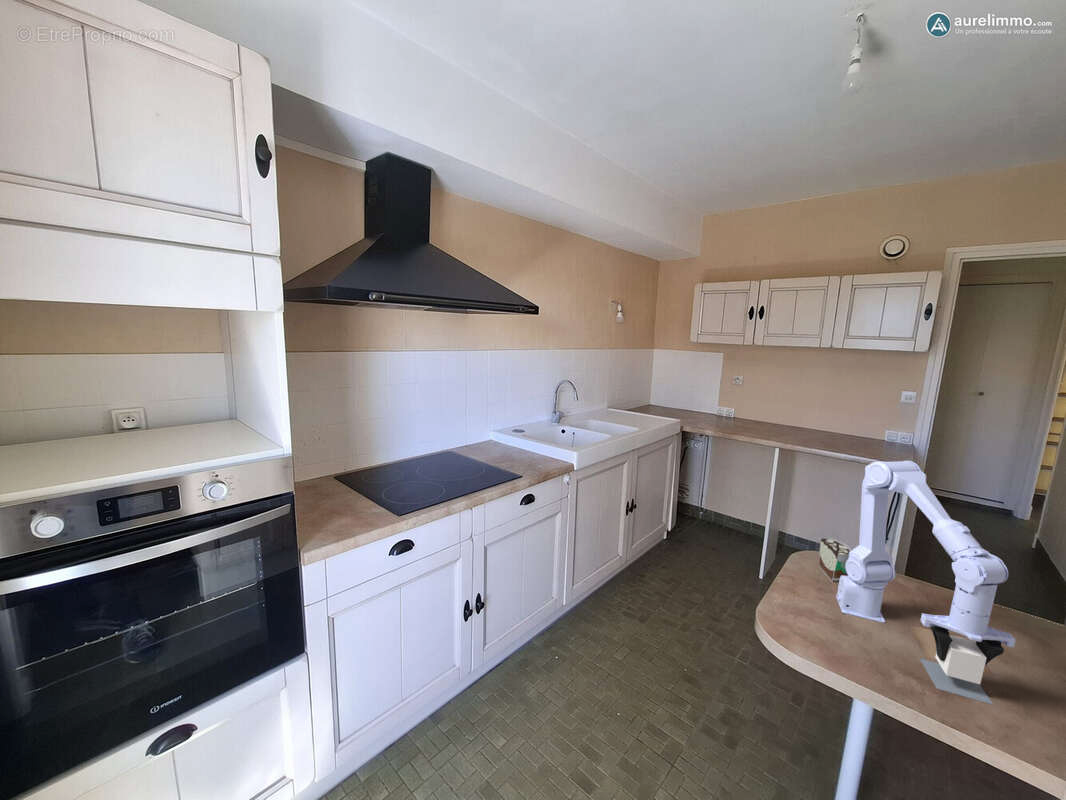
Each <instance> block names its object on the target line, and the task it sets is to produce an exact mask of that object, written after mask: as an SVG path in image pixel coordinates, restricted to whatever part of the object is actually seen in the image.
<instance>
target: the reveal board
mask: <svg viewBox="0 0 1066 800" xmlns="http://www.w3.org/2000/svg"><path fill="white" fill-rule="evenodd" d="M906 627H908V630H909V631H910V633H911V634H912V636H913V638H914V639H915V641H916V643H917V644H918V646H919V648H920V650H921V651H922V653H923V655H924V657H925V658H929V659H933V660H936V661H937V659H936V658H935V656H936V652H937V649H936V643H935V638H934V635H933V632H932V630H931V629H927V628H924V627H919V626H914V625H911V624H906ZM983 673H985V674H989V675H993V676H994V675H995V674H994V673H993V671H992V670H991V669H990V667H989V666H988V664H987V665H986V666H985V667H984V671H983Z"/></svg>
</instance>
